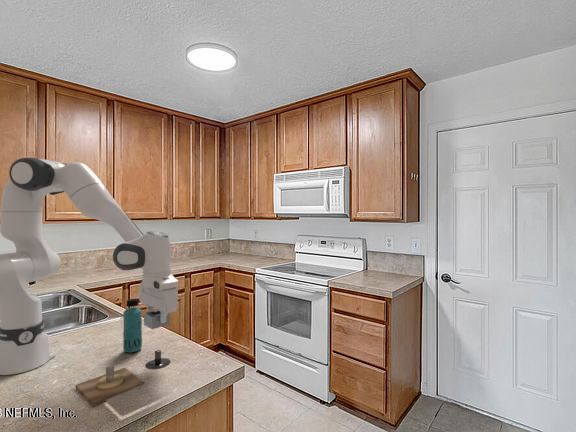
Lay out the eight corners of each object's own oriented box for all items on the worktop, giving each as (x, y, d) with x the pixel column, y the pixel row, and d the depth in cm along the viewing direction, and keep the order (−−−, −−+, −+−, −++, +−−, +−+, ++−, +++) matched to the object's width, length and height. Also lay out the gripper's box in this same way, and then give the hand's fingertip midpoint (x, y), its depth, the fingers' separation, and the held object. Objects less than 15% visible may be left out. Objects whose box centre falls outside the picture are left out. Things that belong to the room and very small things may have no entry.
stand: (140, 366, 110) (140, 351, 110) (163, 358, 116) (163, 344, 116) (152, 374, 105) (152, 358, 105) (175, 365, 111) (174, 350, 111)
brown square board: (75, 388, 96) (75, 368, 96) (124, 371, 107) (124, 353, 107) (93, 407, 87) (92, 385, 87) (144, 385, 98) (144, 366, 98)
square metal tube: (143, 324, 110) (143, 313, 110) (160, 320, 114) (160, 309, 114) (152, 329, 106) (152, 317, 106) (169, 324, 111) (169, 312, 110)
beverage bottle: (121, 357, 117) (120, 302, 116) (125, 350, 123) (124, 297, 123) (140, 355, 118) (140, 301, 118) (143, 348, 125) (143, 296, 125)
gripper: (134, 276, 114) (133, 315, 115) (163, 285, 101) (163, 329, 101) (151, 273, 119) (151, 311, 119) (181, 282, 106) (181, 324, 106)
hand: (157, 319), depth 110 cm, fingers closed on square metal tube, 6 cm apart
